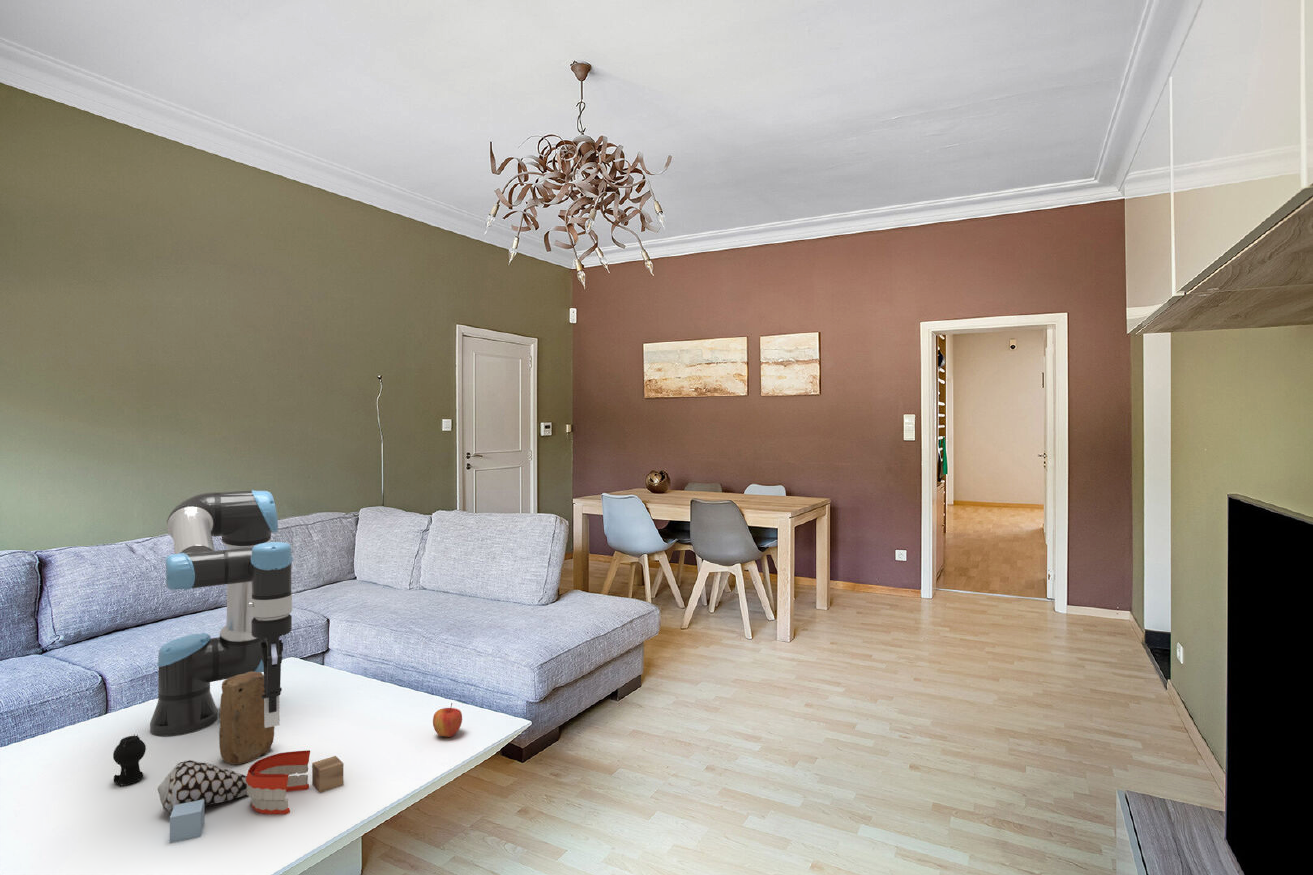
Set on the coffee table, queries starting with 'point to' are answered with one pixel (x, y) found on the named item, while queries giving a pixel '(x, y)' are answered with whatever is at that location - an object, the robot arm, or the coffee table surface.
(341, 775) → the walnut block
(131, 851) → the coffee table surface
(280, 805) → the toy
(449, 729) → the apple
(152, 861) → the coffee table surface
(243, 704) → the brown rock
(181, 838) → the slate block
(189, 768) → the seashell
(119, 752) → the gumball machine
